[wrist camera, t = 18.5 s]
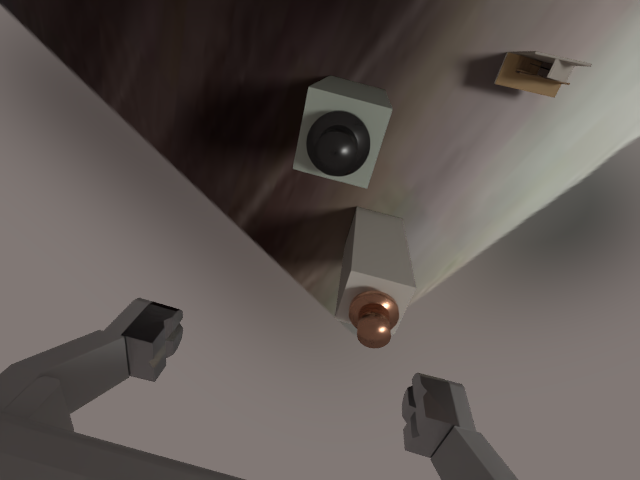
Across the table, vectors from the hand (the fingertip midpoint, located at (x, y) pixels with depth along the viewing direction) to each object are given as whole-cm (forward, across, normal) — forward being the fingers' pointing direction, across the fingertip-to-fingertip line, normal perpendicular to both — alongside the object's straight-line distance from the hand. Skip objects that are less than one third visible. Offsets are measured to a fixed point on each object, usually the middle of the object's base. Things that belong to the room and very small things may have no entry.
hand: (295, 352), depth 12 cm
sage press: (+38, +1, -2) cm, 38 cm away
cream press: (+38, -6, +14) cm, 41 cm away
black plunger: (+35, +1, -2) cm, 35 cm away
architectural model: (+40, -18, -11) cm, 45 cm away
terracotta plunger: (+35, -6, +14) cm, 38 cm away
